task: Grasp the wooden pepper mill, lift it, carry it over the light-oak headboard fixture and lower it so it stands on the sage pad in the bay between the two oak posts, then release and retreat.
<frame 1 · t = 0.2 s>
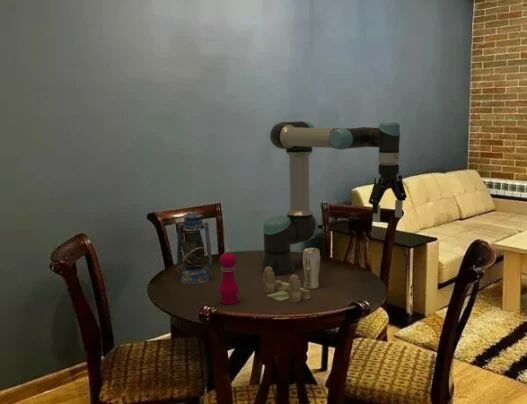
hand: (387, 219, 210), 28 cm above the table, fingers open, 13 cm apart
headboard posts: (281, 296, 208), on the table
beer glass: (311, 286, 220), on the table
lantern: (195, 279, 232), on the table
pepper mill: (229, 302, 204), on the table
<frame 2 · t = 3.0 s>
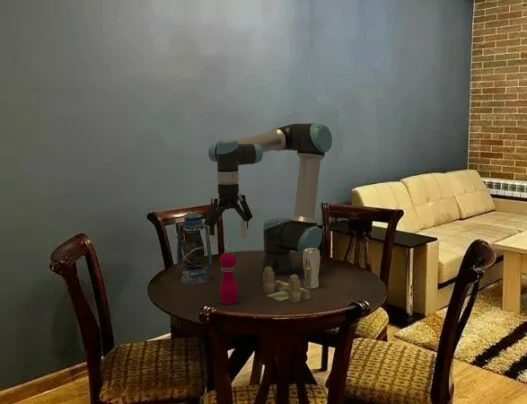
hand: (229, 241, 200), 23 cm above the table, fingers open, 13 cm apart
nothing on the table moved.
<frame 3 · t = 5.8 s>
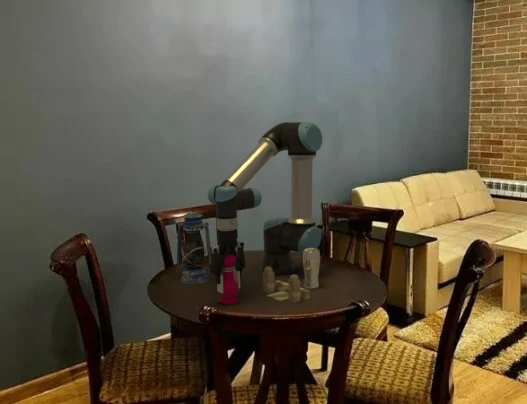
hand: (228, 289, 203), 5 cm above the table, fingers closed on pepper mill, 7 cm apart
pepper mill: (228, 302, 204), on the table, touching gripper
everything else where it was.
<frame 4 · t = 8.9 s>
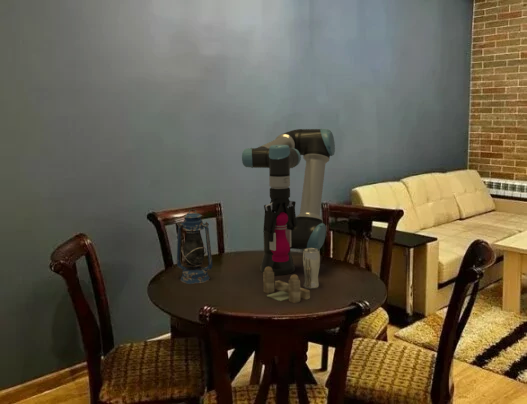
hand: (280, 248, 205), 19 cm above the table, fingers closed on pepper mill, 7 cm apart
pepper mill: (280, 260, 206), point 14 cm above the table, touching gripper
everything else where it was.
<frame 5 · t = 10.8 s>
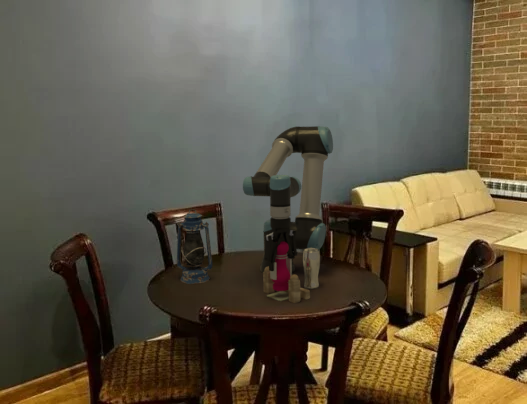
hand: (281, 276, 207), 8 cm above the table, fingers closed on pepper mill, 7 cm apart
pepper mill: (281, 289, 208), point 3 cm above the table, touching gripper
everything else where it was.
when the fingers open (6 cm above the table, at t = 12.0 s): pepper mill drops 1 cm, resting on headboard posts.
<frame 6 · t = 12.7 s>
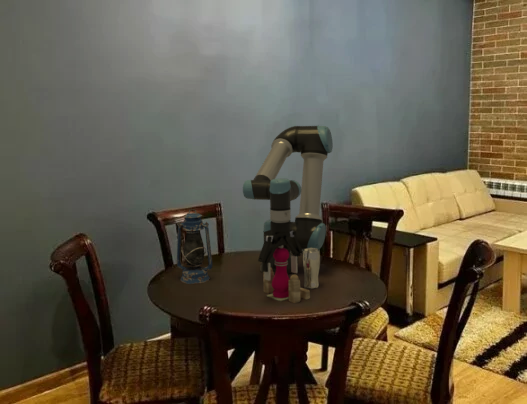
hand: (281, 276, 207), 8 cm above the table, fingers open, 13 cm apart
pepper mill: (281, 295, 208), resting on headboard posts
everything else where it was.
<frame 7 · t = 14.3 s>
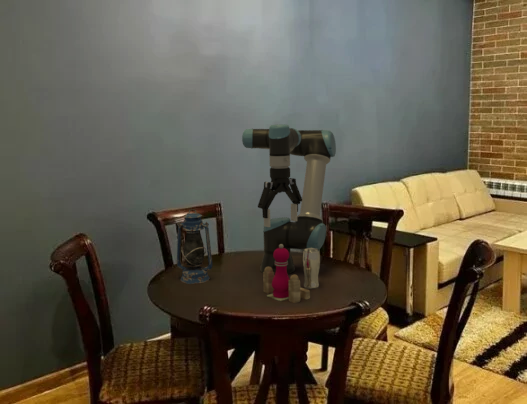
hand: (281, 223, 205), 28 cm above the table, fingers open, 13 cm apart
nothing on the table moved.
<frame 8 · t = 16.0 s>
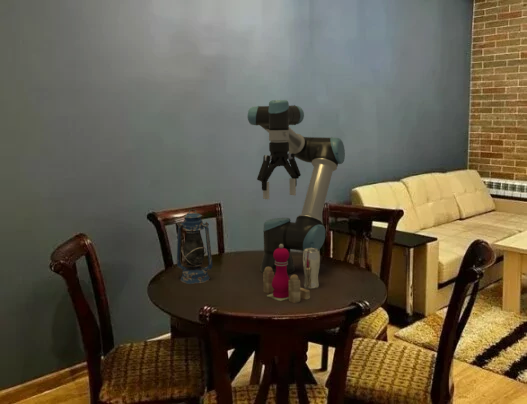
hand: (279, 197, 212), 37 cm above the table, fingers open, 13 cm apart
nothing on the table moved.
at the end: pepper mill inside the target area on the headboard posts (0.0 cm from its centre), point 0.2 cm above the headboard posts's base; pepper mill tilted 1°; the gripper is holding nothing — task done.
